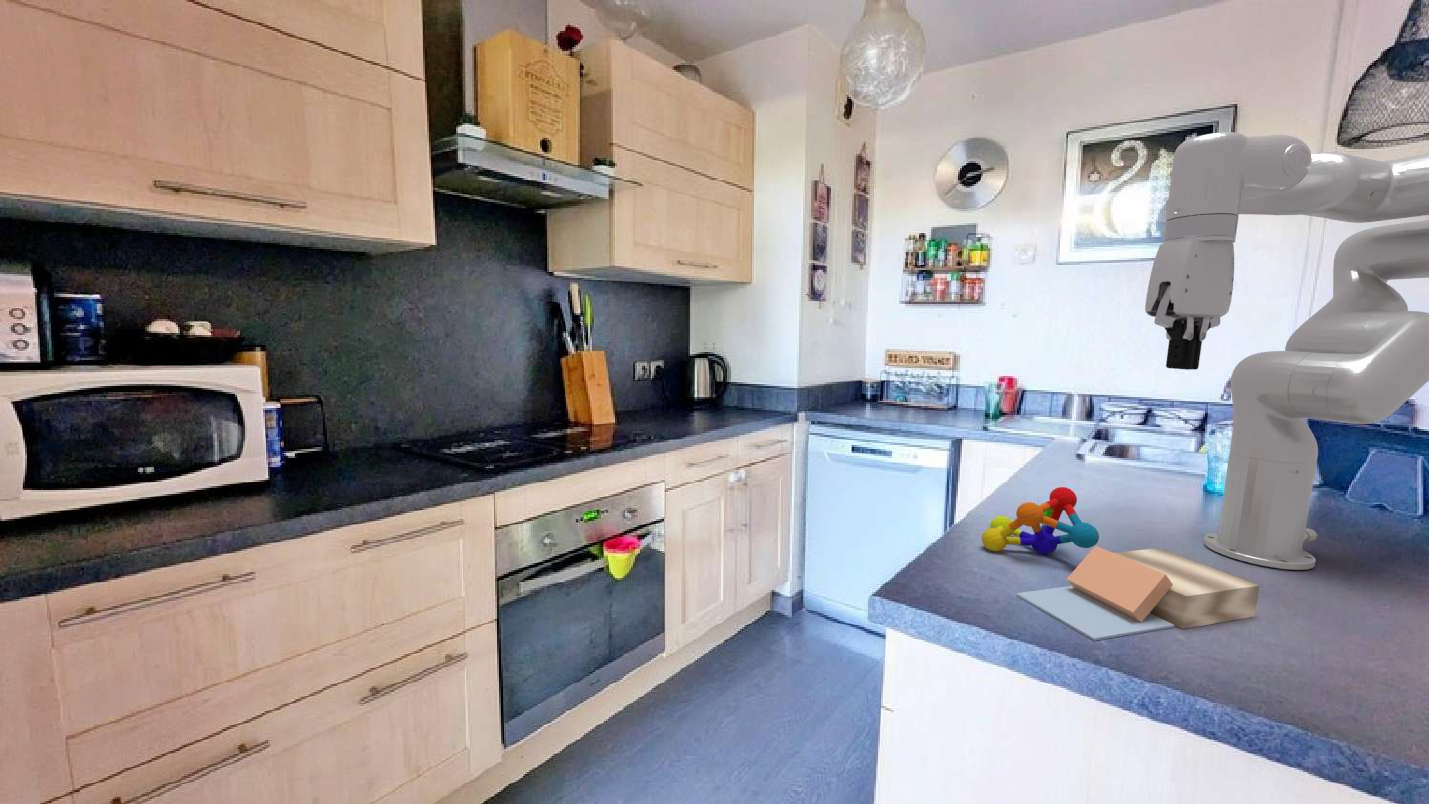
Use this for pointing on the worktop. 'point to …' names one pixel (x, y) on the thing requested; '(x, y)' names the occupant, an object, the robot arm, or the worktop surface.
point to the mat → (1090, 614)
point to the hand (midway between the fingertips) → (1181, 368)
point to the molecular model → (1049, 519)
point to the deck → (1197, 590)
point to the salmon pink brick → (1120, 583)
